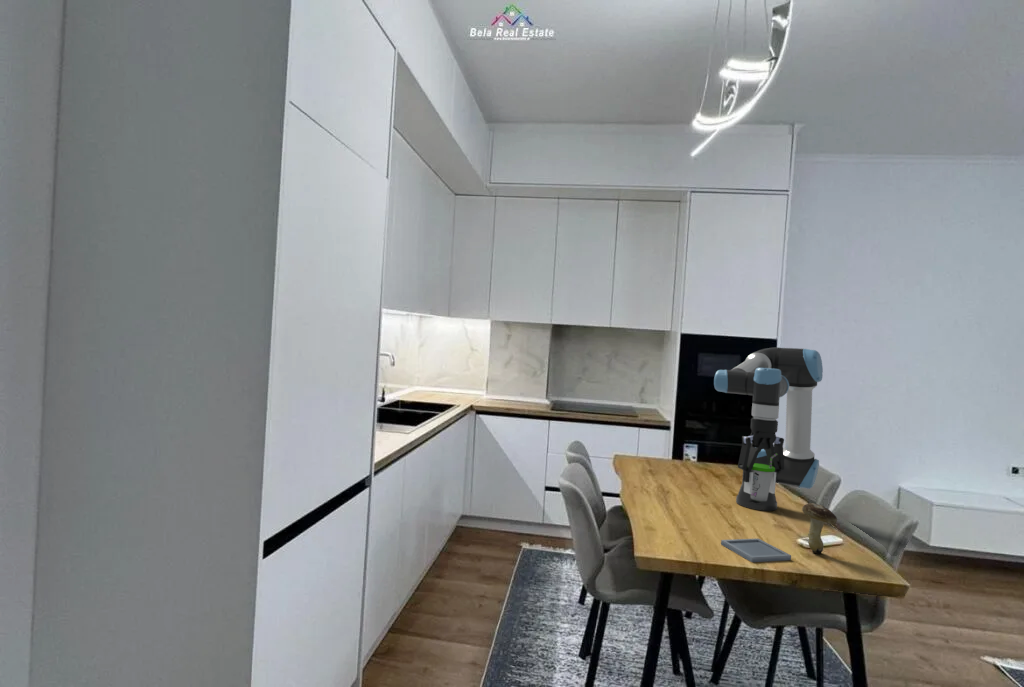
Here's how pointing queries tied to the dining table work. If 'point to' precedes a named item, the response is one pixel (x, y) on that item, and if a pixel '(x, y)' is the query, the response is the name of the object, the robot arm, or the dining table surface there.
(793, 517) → the dining table surface
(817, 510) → the mushroom
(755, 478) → the cup
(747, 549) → the tray
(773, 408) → the robot arm
